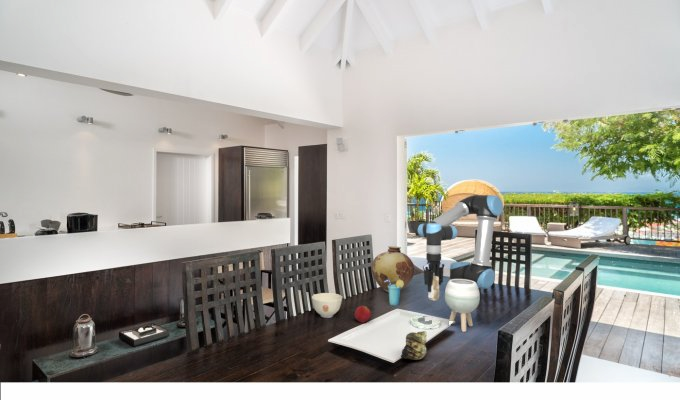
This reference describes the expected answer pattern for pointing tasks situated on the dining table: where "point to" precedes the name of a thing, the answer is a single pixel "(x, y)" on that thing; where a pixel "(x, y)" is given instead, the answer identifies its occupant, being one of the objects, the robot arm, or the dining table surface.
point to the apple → (362, 314)
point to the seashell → (415, 346)
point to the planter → (462, 299)
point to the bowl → (327, 303)
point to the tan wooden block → (435, 288)
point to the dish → (422, 322)
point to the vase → (392, 268)
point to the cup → (394, 292)
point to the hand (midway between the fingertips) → (433, 297)
